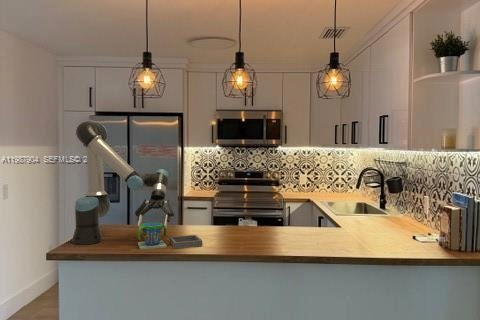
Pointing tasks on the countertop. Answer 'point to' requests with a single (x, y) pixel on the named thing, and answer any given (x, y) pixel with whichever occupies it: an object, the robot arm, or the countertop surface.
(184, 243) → the square frame
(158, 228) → the snack cup
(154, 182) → the robot arm
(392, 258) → the countertop surface
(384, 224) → the countertop surface
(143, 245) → the mat
